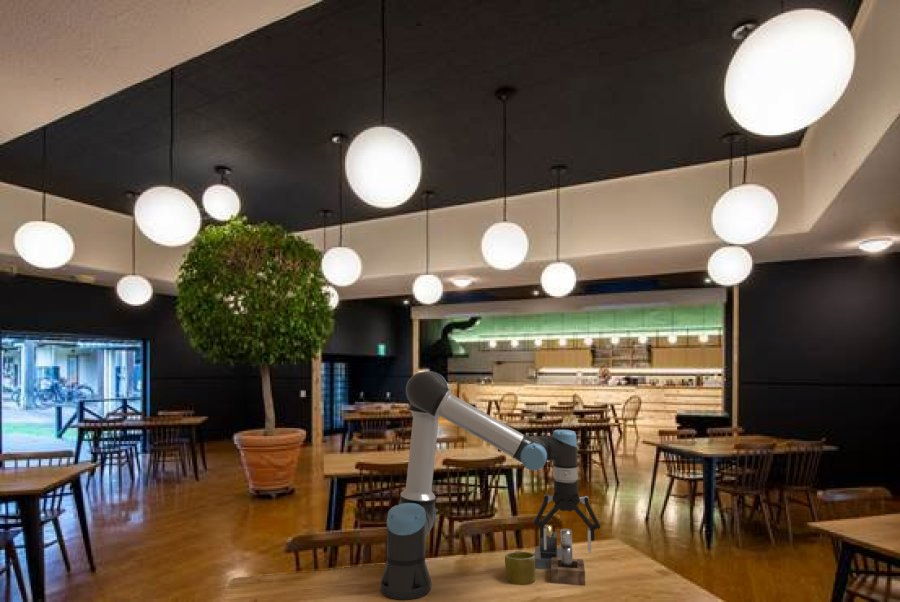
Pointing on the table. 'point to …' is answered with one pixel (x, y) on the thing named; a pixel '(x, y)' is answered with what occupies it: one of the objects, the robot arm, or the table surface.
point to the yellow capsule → (548, 530)
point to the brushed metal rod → (566, 548)
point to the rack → (567, 572)
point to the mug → (520, 567)
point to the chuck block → (546, 552)
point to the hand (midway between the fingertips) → (567, 550)
